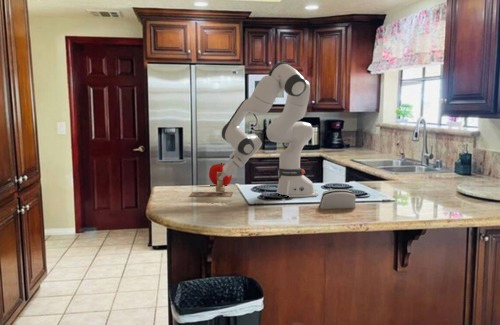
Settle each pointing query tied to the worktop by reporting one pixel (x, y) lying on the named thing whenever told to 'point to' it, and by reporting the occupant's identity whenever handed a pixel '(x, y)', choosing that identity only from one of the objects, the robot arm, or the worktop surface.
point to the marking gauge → (220, 184)
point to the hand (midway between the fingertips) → (219, 178)
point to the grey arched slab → (337, 199)
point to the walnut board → (211, 194)
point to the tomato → (213, 174)
